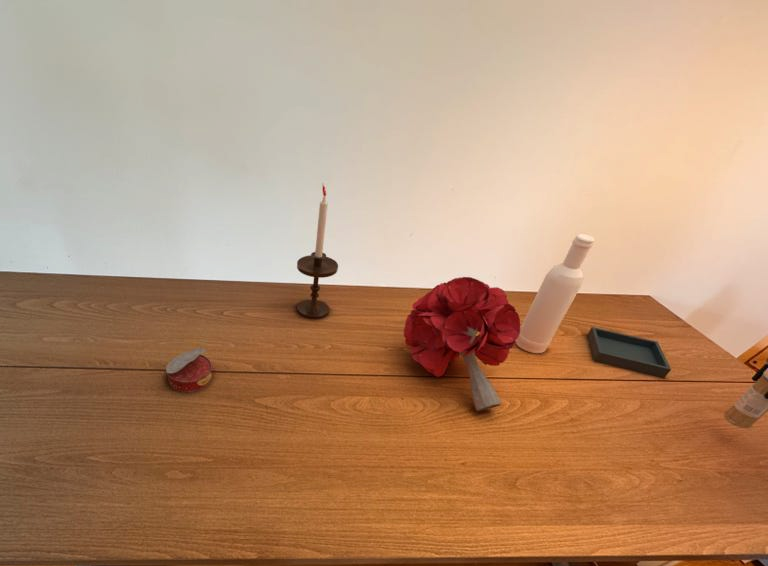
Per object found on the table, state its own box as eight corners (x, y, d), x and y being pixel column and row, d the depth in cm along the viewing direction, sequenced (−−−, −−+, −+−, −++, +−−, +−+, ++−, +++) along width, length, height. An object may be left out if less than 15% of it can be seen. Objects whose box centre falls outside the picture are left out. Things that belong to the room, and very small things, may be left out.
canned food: (184, 407, 95) (157, 385, 87) (175, 375, 101) (150, 352, 93) (227, 382, 94) (204, 358, 86) (215, 351, 100) (193, 327, 93)
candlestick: (298, 322, 115) (308, 191, 93) (290, 301, 123) (298, 176, 101) (336, 319, 117) (355, 190, 95) (326, 299, 125) (341, 175, 103)
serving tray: (651, 349, 113) (657, 341, 111) (664, 378, 104) (671, 369, 102) (586, 334, 117) (591, 326, 115) (593, 360, 108) (599, 352, 106)
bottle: (551, 346, 112) (611, 238, 93) (538, 357, 108) (598, 247, 89) (522, 332, 116) (574, 227, 97) (508, 342, 112) (559, 234, 93)
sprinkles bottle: (755, 425, 86) (808, 375, 77) (743, 432, 84) (796, 382, 75) (729, 410, 89) (777, 361, 80) (717, 417, 87) (765, 367, 79)
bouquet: (504, 410, 102) (461, 301, 111) (576, 380, 80) (515, 248, 89) (422, 427, 98) (385, 313, 108) (474, 401, 76) (422, 261, 86)
